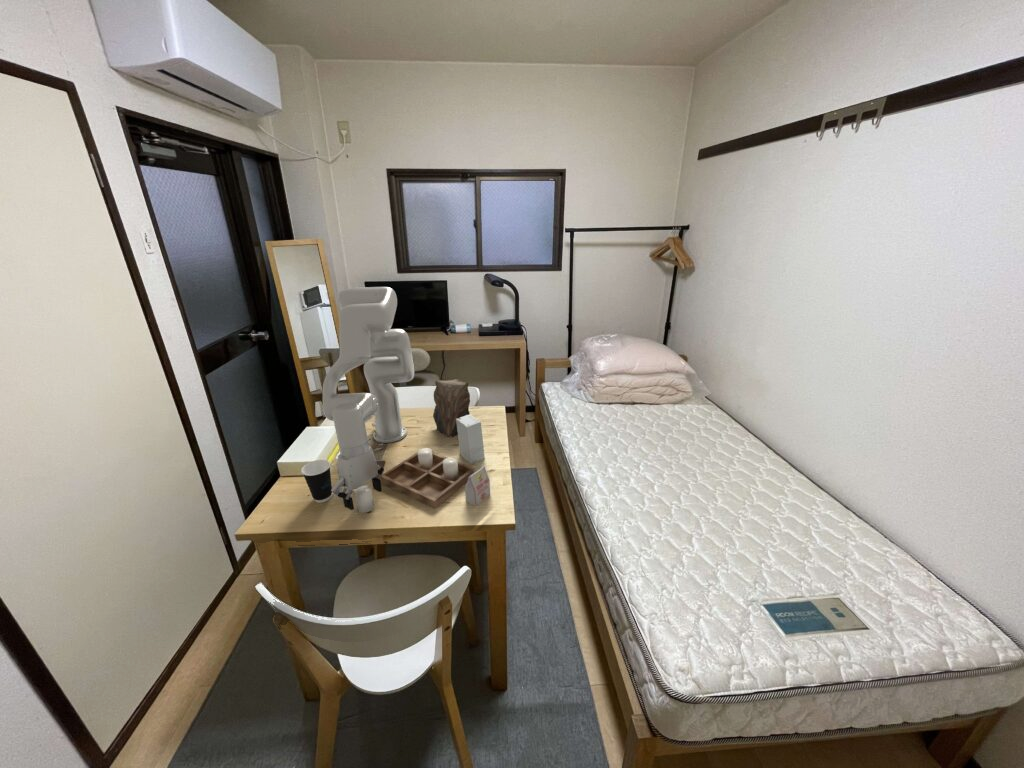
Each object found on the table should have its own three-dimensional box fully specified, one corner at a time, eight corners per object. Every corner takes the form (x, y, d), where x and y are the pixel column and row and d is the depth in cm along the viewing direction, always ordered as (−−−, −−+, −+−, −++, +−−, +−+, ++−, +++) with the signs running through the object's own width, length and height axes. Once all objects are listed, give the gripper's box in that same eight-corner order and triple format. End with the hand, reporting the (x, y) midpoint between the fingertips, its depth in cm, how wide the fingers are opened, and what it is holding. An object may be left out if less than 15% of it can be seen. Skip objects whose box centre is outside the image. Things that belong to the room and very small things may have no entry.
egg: (354, 508, 119) (351, 492, 116) (367, 500, 122) (364, 483, 120) (364, 514, 116) (361, 497, 114) (377, 505, 120) (374, 488, 118)
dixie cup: (311, 491, 127) (303, 461, 122) (338, 487, 128) (332, 457, 124) (306, 508, 119) (298, 476, 115) (335, 503, 121) (328, 472, 117)
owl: (433, 427, 164) (428, 381, 156) (460, 418, 171) (457, 373, 163) (447, 439, 154) (442, 391, 147) (476, 429, 161) (473, 383, 153)
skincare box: (485, 460, 141) (483, 422, 135) (469, 465, 138) (466, 427, 132) (473, 449, 147) (471, 412, 142) (458, 454, 144) (455, 417, 139)
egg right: (441, 478, 130) (439, 462, 128) (450, 471, 134) (449, 456, 131) (452, 483, 128) (450, 467, 125) (461, 475, 131) (460, 460, 129)
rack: (381, 485, 129) (380, 475, 128) (424, 457, 144) (423, 448, 142) (435, 510, 117) (434, 501, 116) (476, 477, 132) (475, 468, 130)
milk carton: (466, 503, 120) (463, 475, 116) (481, 491, 125) (479, 464, 121) (475, 508, 118) (473, 479, 114) (490, 496, 123) (489, 468, 119)
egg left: (416, 468, 136) (414, 453, 133) (426, 461, 139) (424, 446, 137) (426, 472, 133) (424, 457, 131) (436, 465, 137) (434, 450, 135)
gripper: (371, 430, 120) (379, 479, 126) (317, 458, 107) (329, 511, 113) (388, 437, 116) (396, 487, 122) (334, 466, 103) (346, 520, 109)
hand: (364, 498), depth 118 cm, fingers open, 9 cm apart
